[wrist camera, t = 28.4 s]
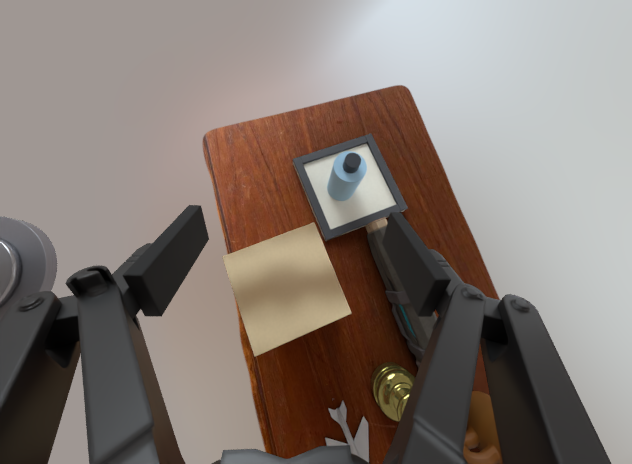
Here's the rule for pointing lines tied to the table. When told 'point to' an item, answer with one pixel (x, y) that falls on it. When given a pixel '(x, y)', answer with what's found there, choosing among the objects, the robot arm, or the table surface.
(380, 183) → the whiteboard
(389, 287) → the tube
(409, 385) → the brass weight
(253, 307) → the stand
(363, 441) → the toy airplane
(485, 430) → the mug
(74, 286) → the robot arm
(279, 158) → the table surface
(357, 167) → the cleaner bottle
